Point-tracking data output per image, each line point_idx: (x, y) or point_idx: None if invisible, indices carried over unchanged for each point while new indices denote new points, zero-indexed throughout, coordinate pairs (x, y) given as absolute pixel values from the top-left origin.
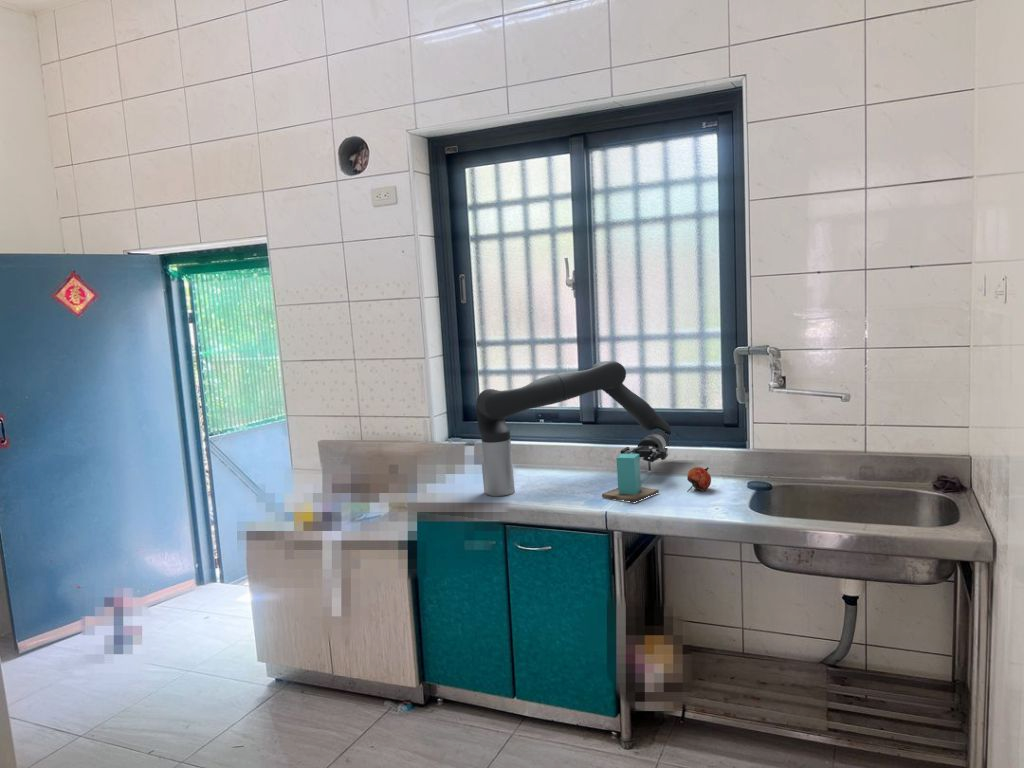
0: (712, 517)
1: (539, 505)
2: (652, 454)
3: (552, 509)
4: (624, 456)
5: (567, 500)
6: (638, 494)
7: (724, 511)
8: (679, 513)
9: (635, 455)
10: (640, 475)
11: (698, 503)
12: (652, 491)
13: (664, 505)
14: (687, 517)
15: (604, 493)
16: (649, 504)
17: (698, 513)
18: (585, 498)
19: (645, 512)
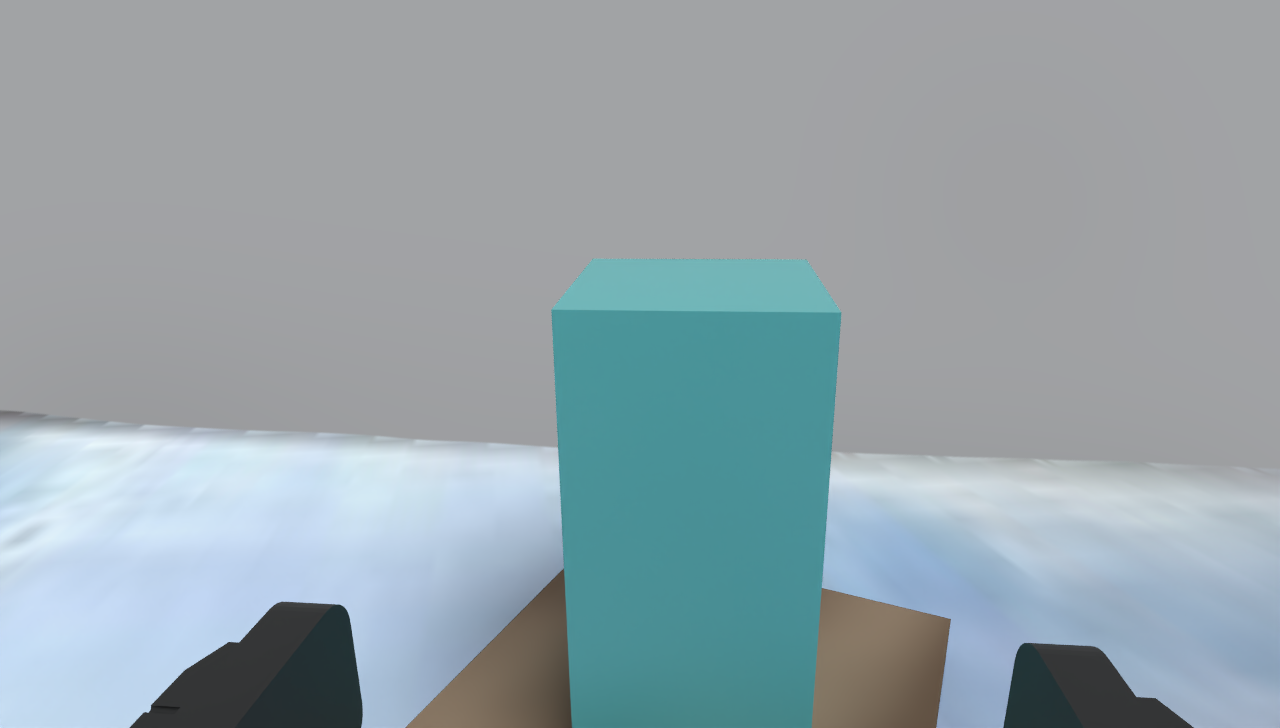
0: (151, 453)
1: (1253, 498)
2: (242, 661)
3: (1085, 464)
4: (728, 272)
5: (1183, 580)
6: None
7: (13, 508)
8: (310, 474)
9: (595, 285)
10: (566, 604)
11: (82, 601)
12: (437, 715)
13: (371, 554)
14: (285, 445)
15: (931, 628)
16: (482, 561)
17: (197, 480)
18: (1085, 628)
19: (508, 471)
